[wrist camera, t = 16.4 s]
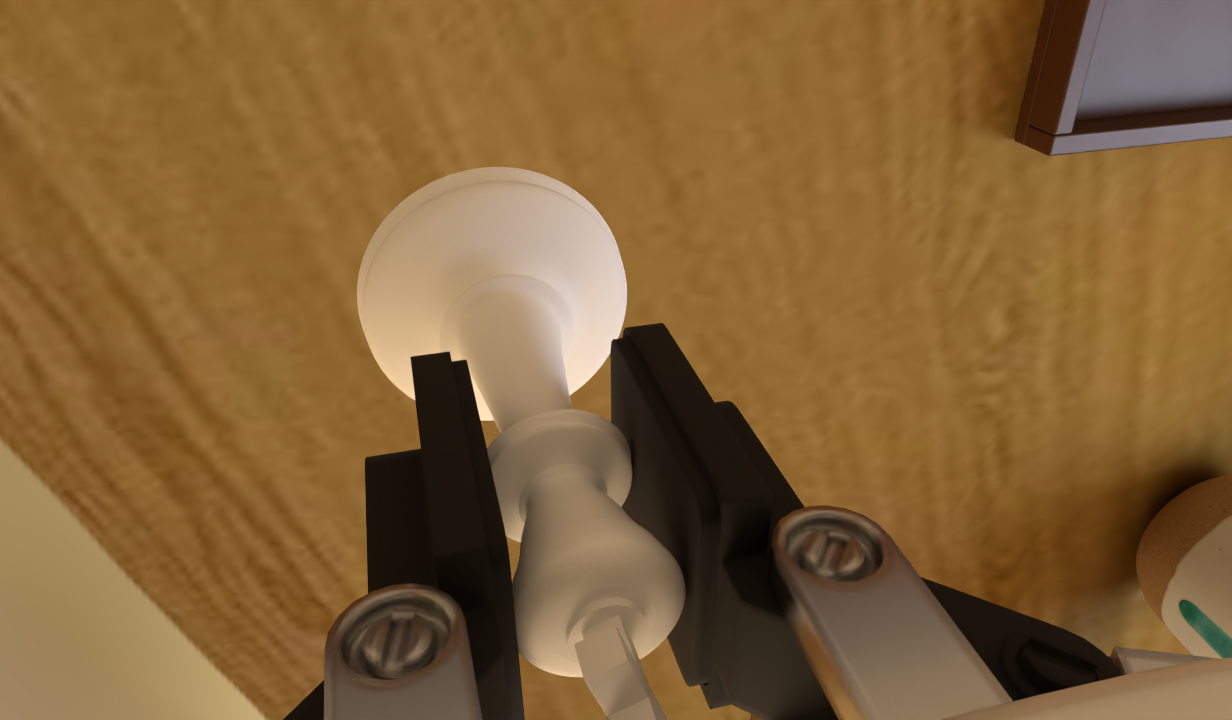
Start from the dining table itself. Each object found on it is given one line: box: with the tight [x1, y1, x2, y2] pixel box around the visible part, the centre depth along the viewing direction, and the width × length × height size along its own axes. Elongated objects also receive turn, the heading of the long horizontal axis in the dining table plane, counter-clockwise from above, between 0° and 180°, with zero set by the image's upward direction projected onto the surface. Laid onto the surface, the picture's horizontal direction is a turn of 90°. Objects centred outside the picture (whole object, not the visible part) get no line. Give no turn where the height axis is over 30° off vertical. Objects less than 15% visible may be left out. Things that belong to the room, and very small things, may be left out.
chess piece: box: [357, 167, 686, 720], centre depth 12 cm, size 5×5×10 cm
